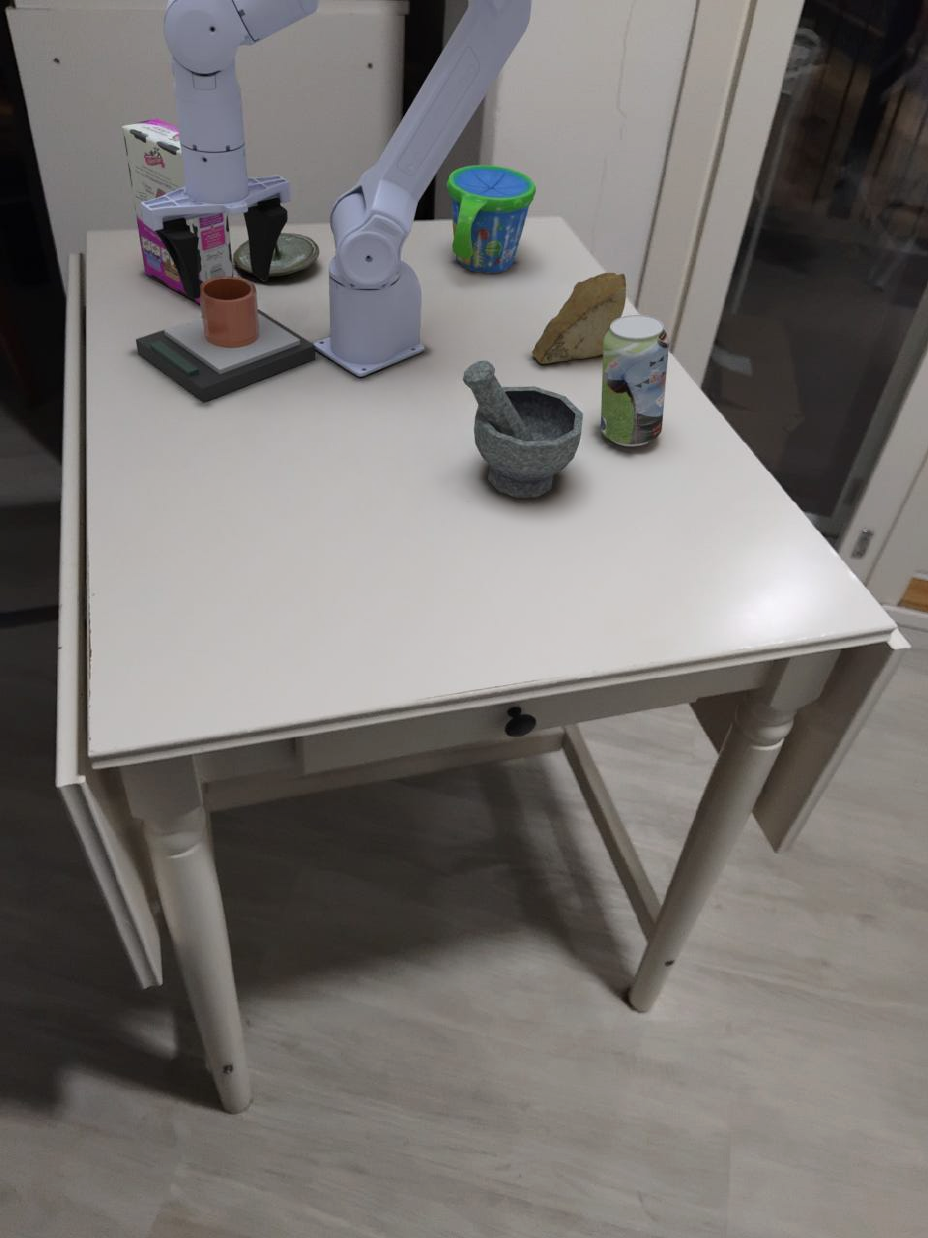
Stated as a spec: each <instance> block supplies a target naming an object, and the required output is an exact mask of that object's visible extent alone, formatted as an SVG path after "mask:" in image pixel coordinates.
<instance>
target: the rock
mask: <svg viewBox="0 0 928 1238" xmlns="http://www.w3.org/2000/svg"><path fill="white" fill-rule="evenodd" d="M626 300H627V279H626V276H625V274H624V273H619V274H616V273H615V272H603V273H600V274H596V275H594V276H593V277H589V278H587V279H585V280H582V281H578V282H576V284H575V285H574V286H573V290H572V292H571V294H570V295H569V297H568V299H567V300H566V301H565V302H564V303H563V306H562V307H561V308H560V309H559V311H558V313H557V315H555V316H554V317H552V318H551V319H550V321H548V323H547V324H546V326H545V328H544V330H543V332H542V334H541V335H540V337H539V339H538V340H537V341H536V343H535V345H534V347H533V349H532V352H531V354H532V356H533V357H534V358H535V360H536V361H537V362H538V363H539V364H541V365H543V364H552V363H558V362H568V361H570V360H578V359H580V360H584V359H588V358H595V357H598V356H602V355H603V340H604V337H605V335H606V333H607V332H608V331H609V329H610V325H611V323H612V322H613V321H614V320H616V319H618V318H620V317H623V314H624V313H623V312H624V310H625V306H626Z"/></svg>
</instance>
